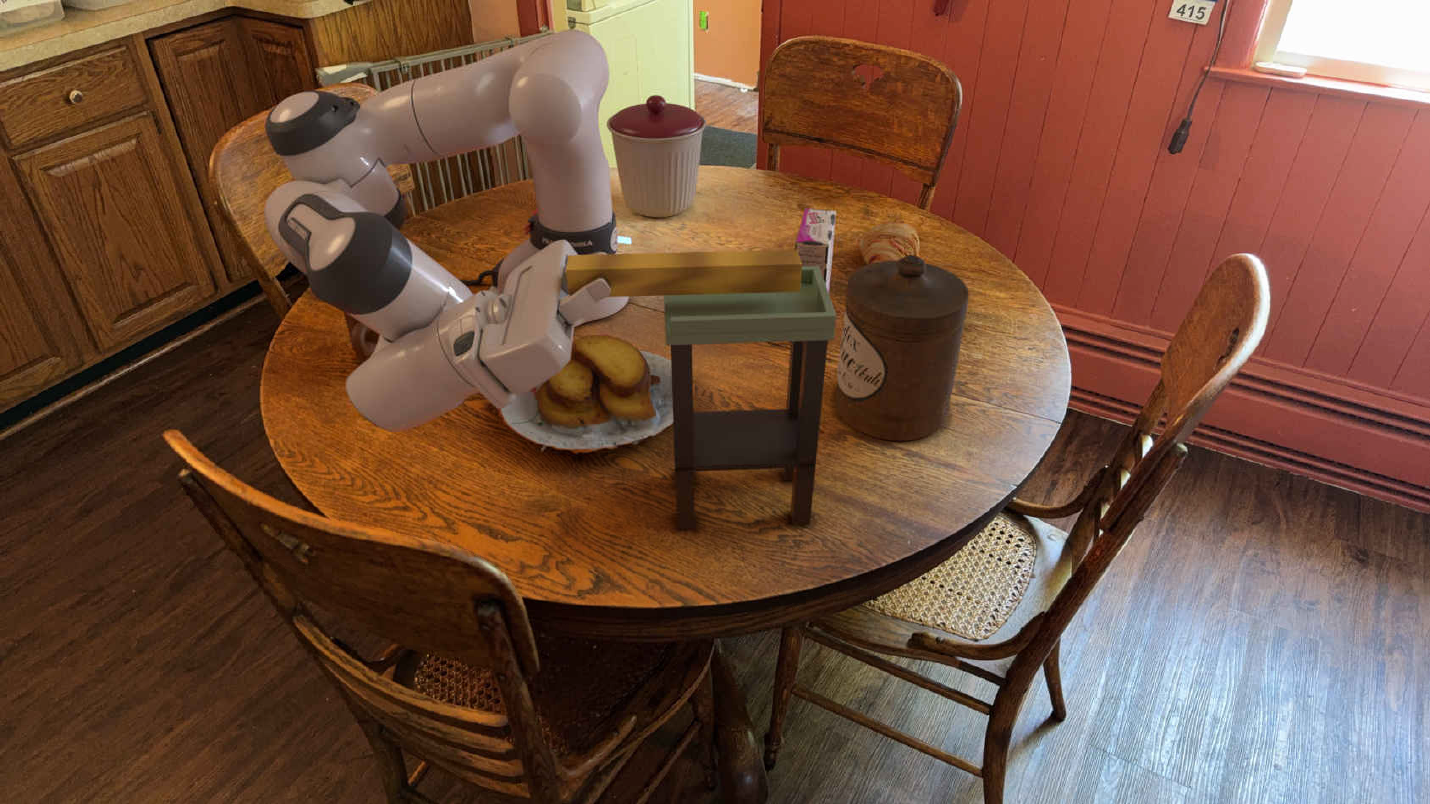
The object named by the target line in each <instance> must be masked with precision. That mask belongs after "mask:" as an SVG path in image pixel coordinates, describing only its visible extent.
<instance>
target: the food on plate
mask: <svg viewBox="0 0 1430 804" xmlns="http://www.w3.org/2000/svg"><path fill="white" fill-rule="evenodd" d="M695 388H696V387H695V384H694V383H693V402H694V401H695V399H694V395H696V390H695ZM497 413H498V418H499V419H501V420H502V422H503V424H504V425H505V426H508V429H509V430H510V431H511V430H513V433H514V434H516V435H518V436H521V437H523V438H524V439H526V440H527V441H531V442H533V443H534V444H536V445H537V444H538V445H542V447H541V451H540V452H543V451H545V449H546V448H547V447H551V448H553V449H555V450H559V451H564V450H567V451H571V452H572V453H574V454H575V455H577V454H578V453H582V454H583V453H584V454H587V453H591V452H597V451H600V450H603V449H610V450H611V449H612V450H614V449H618V448H619V447H618V446H624V445H628V444H629V445H630V444H632V445H633V446H634V445H638V444H639V442H642V441H643V440H644V439H647V438H649V436H651V437H654V436H656V435H659V434H661V433H662V432H663V431H664V430H665V429H666V428H667V427H670V426H672V425H673V401H672V371H671V358H666V356H663V355H660V354H657V353H654V352H649V351H648V350H644V349H638V348H637V347H636V346H634V345H633V344H632V343H631V342H629V341H627V340H624V339H622V338H619V337H614V336H612V335H607V334H590V335H584V336H581V337H579V338H577V339H575V340H573V342H572V350H571V358H570V361H569V362H568V363H567V365H566V366H565V367H564V368H563V369H562V370H561V371H560V372H559V373H558V374H556V375H555V376H553V377H551V378H550V379H548V380H547V381H545V382H543V383H541V384H540V385H538V386H536V387H534V388H533V389H531V390H529V391H527V392H525V393H523V394H520V395H516V397H515V399H514V401H513V402H512V403H510V404H509V405H507V406H505V407H503V408H501V409H497ZM575 459H578V458H577V457H575Z"/></svg>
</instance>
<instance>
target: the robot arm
mask: <svg viewBox="0 0 1430 804" xmlns="http://www.w3.org/2000/svg"><path fill="white" fill-rule="evenodd" d="M609 81H610V65H609V60H608V57H607V54H606V51H605V49H604V47H603V46H602V44H601V43H600V41H598V40H597V39H596V38H595V37H594V36H592V35H591V33H588V32H586V31H583V30H579V29H564V30H560V31H557V32H554V33H551V34H548V35H545V36H542V37H539V38H536V39H533V40H530V41H528V42H525V43H521V44H519V45H516V46H513V47H510V48H508V49H505V50H503V51H500V52H498V53H495V54H492V55H489V56H487V57H485V58H481V59H480V60H477V61H474V62H472V63H468V64H465V65H461V66H458V67H454V68H451V69H447V70H444V71H439V72H436V73H433V74H429V75H425V76H422V77H421V76H420V77H418V78H414V79H410V80H408V81H404V82H402V83H399V84H397V85H394V86H392V87H389V88H387V89H385V90H383V91H380V92H379V93H376V94H374V95H372V96H371V97H369V98H367V99H366V100H364V101H363V102H362V103H361V104H360V102H359V101H357V100H356V99H354V98H353V97H350V96H340V95H338V94H336V93H334V92H330V91H325V90H317V89H312V90H304V91H301V92H298V93H295V94H293V95H290V96H288V97H286V98H285V99H283V100H281V101H280V102H279V103H278V104H276V106H274V107H273V108H272V109H271V111H269V113H268V115H267V118H266V119H265V122H264V130H265V133H266V137H267V139H268V141H269V143H270V145H271V147H272V149H273V151H274V152H275V154H277V155H279V156H280V158H281V160H282V162H283V163H284V165H285V167H286V169H287V170H288V172H289V173H290V175H291V176H292V178H293V180H291V181H288V182H286V183H283V184H281V185H279V186H278V187H276V189H274V190H273V191H272V192H271V194H270V195H269V196H268V198H267V200H266V202H265V205H264V208H263V209H264V210H263V217H264V223H265V227H266V229H267V232H268V234H269V236H270V238H271V239H272V242H273V243H274V244H275V246H276V248H278V250H279V251H280V253H281V254H282V255H283V257H284V258H286V259H287V260H288V261H289V262H290V263H291V264H292V265H293V266H294V267H295V268H296V269H298V270H299V271H300V272H301V273H303V274H304V275H306V276H307V282H308V286H309V287H310V290H311V292H312V294H313V295H314V296H315V297H316V298H317V299H319V300H321V301H322V302H324V303H326V304H328V305H330V306H332V307H333V308H335V309H337V310H339V311H341V312H343V313H344V312H345V313H347V314H349V315H350V316H352V317H353V318H355V319H356V320H358V321H360V322H361V323H363V324H364V325H366V326H367V327H369V328H370V329H372V330H373V331H375V332H377V333H378V334H380V336H379V340H378V343H377V346H376V348H375V350H374V352H373V354H372V355H371V357H370V358H369V359H368V360H366V361H365V362H364V363H362V364H361V365H360V364H359V366H358V367H356V368H355V369H354V370H353V371H352V372H351V373H350V374H349V375H348V377H347V378H346V381H345V390H346V394H347V396H348V398H349V400H350V403H351V404H352V406H353V407H354V408H355V409H356V411H357V412H358V413H359V414H360V415H361V417H362V418H364V419H365V420H366V421H368V422H369V423H371V424H372V425H374V426H375V427H378V428H380V429H382V430H384V431H387V432H390V433H397V432H398V433H399V432H404V431H409V430H412V429H414V428H418V427H420V426H423V425H425V424H427V423H429V422H432V421H435V420H436V419H438V418H440V417H441V416H443V415H446V414H448V413H449V412H451V411H453V410H455V409H456V408H458V407H459V406H460V405H461V404H462V403H463V402H464V401H466V399H468V398H469V397H470V396H473V395H475V394H481V395H482V396H483V397H484V398H485V399H486V400H487V401H488V402H489V403H490V404H492V405H493V407H495V408H496V409H497V410H499V409H501V408H503V407H505V406H507V405H509V404H510V403H512V402H513V401H514V399H515V397H516V395H520V394H523V393H525V392H527V391H529V390H531V389H533V388H534V387H536V386H538V385H540V384H541V383H543V382H545V381H547V380H548V379H550V378H551V377H553V376H555V375H556V374H558V373H559V372H560V371H561V370H562V369H563V368H564V367H565V366H566V365H567V363H568V362H569V361H570V358H571V350H572V344H573V342H574V334H575V328H576V327H578V326H581V325H583V324H585V323H588V322H593V321H598V320H601V319H605V318H608V317H610V316H613V315H614V314H616V313H618V312H619V311H621V310H622V309H623V308H624V307H625V306H626V305H627V303H628V302H629V298H630V297H608V296H609V295H610V294H611V283H610V282H609V280H608V279H607V278H606V276H605V275H603V274H598V275H597V276H595V277H593V278H591V279H589V280H588V281H587V283H586V285H585V286H584V287H583V288H581V289H580V290H578V291H577V292H576V293H574V294H573V295H572V296H570V295H569V292H568V283H567V274H566V268H567V261H568V256H569V255H603V254H618V247H619V243H620V244H628V245H631V244H632V237H627V236H619V231H618V225H617V219H616V213H615V212H614V210H613V202H612V201H613V200H612V188H611V186H612V185H611V175H610V165H609V164H610V163H609V161H608V159H607V158H606V155H605V150H604V145H603V142H602V141H603V140H602V135H601V130H600V125H599V123H600V122H599V112H600V105H601V102H602V99H603V97H604V96H605V94H606V92H607V89H608V87H609ZM519 135H520V137H521V141H522V143H523V146H524V150H525V152H526V155H527V158H528V163H529V166H530V170H531V175H532V181H533V188H534V195H535V203H536V208H535V209H533V212H532V213H533V214H532V216H531V217H530V218H528V219H527V224H526V225H525V226H524V228H523V231H524V236H525V237H526V236H527V235H529V237H527V238H526V239H525V240H524V241H522V242H521V243H519V244H518V245H517V246H516V247H514V248H513V249H512V250H511V251H510V252H509V253H507V255H506V256H505V258H502V259H501V260H499V261H498V262H497V264H495V266H493V268H492V269H489V270H485V271H482V272H480V273H479V275H478V277H477V279H473V280H463V279H458V278H457V277H456V276H455V275H453V274H452V273H451V272H450V271H448V270H447V269H446V268H445V267H444V266H443V265H441V264H440V263H438V262H437V261H436V260H435V259H434V258H432V257H431V256H429V255H428V254H427V253H426V252H424V251H423V250H422V249H421V248H419V247H418V246H417V245H416V244H415V243H414V242H412V241H411V240H409V239H408V238H407V237H406V236H405V235H404V234H403V233H402V232H401V229H402V228H403V227H404V225H405V222H406V220H407V217H408V208H407V205H406V201H405V198H404V196H403V194H402V191H401V190H400V189H399V188H398V187H397V186H396V184H395V182H394V179H393V178H392V176H391V174H390V172H389V170H388V169H387V167H389V166H391V165H412V164H413V165H414V164H421V163H429V162H435V161H439V160H443V159H444V160H445V159H448V158H453V157H456V156H459V155H464V154H468V153H471V152H476V151H480V150H485V149H488V148H492V147H496V146H499V145H502V144H504V142H506V141H509V140H510V139H513V138H514V137H516V136H519ZM488 276H490V277H491V283H492V285H491V286H490V288H489V289H488V290H480V291H478V292H476V293H474V292H472V290H470V288H469V287H468V286H477V285H480V284H482V283H483V281H484V279H485V277H488Z"/></svg>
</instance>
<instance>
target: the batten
mask: <svg viewBox="0 0 1430 804" xmlns="http://www.w3.org/2000/svg"><path fill="white" fill-rule="evenodd" d="M801 272H802V262H801V259H800V256H799V253H798V250H795V249H774V250H773V249H770V250H769V249H767V250H726V251H725V250H724V251H687V252H686V251H685V252H683V251H682V252H650V253H648V252H647V253H617V254H603V255H569V256H568V261H567V268H566V274H567V283H568V292H569V295H570V296H572V295H573V294H574V293H576V292H577V291H578V290H580V289H581V288H583V287H584V286H585V285H586V283H587V281H588V280H589V279H591V278H593V277H595V276H597V275H598V274H603V275H605V276H606V278H607V279H608V280H609V282H610V283H611V294H610V295H609V296H608V297H629V298H630V297H662V296H663V297H664V296H667V295H703V294H739V293H776V292H800V286H801Z"/></svg>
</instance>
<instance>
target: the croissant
mask: <svg viewBox="0 0 1430 804" xmlns="http://www.w3.org/2000/svg"><path fill="white" fill-rule="evenodd" d="M920 246H921V245H920V238H919V234H918V232H917V231H916V229H915V228H914V227H912V226H911V225H910V224H907V223H906V222H905V221H904V220H899V219H898V220H897V219H895V220H894V221H887V222H886V221H885V222H881V223H880V224H877V225H875V226H873V227H872V228H870V229H868V230H867V231H866V232H865V233H864V234H863V235H862V236H861V238H860V240H859V250H860V253H862V254H861V255H862V256H861V257H862V260H863V261H864V262H865V265H868V264H871V263H875V262H880V261H888V260H900V259H901V258H903V257H906V256H908V255H915V256H918V257H919V256H920ZM919 258H920V257H919Z"/></svg>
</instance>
